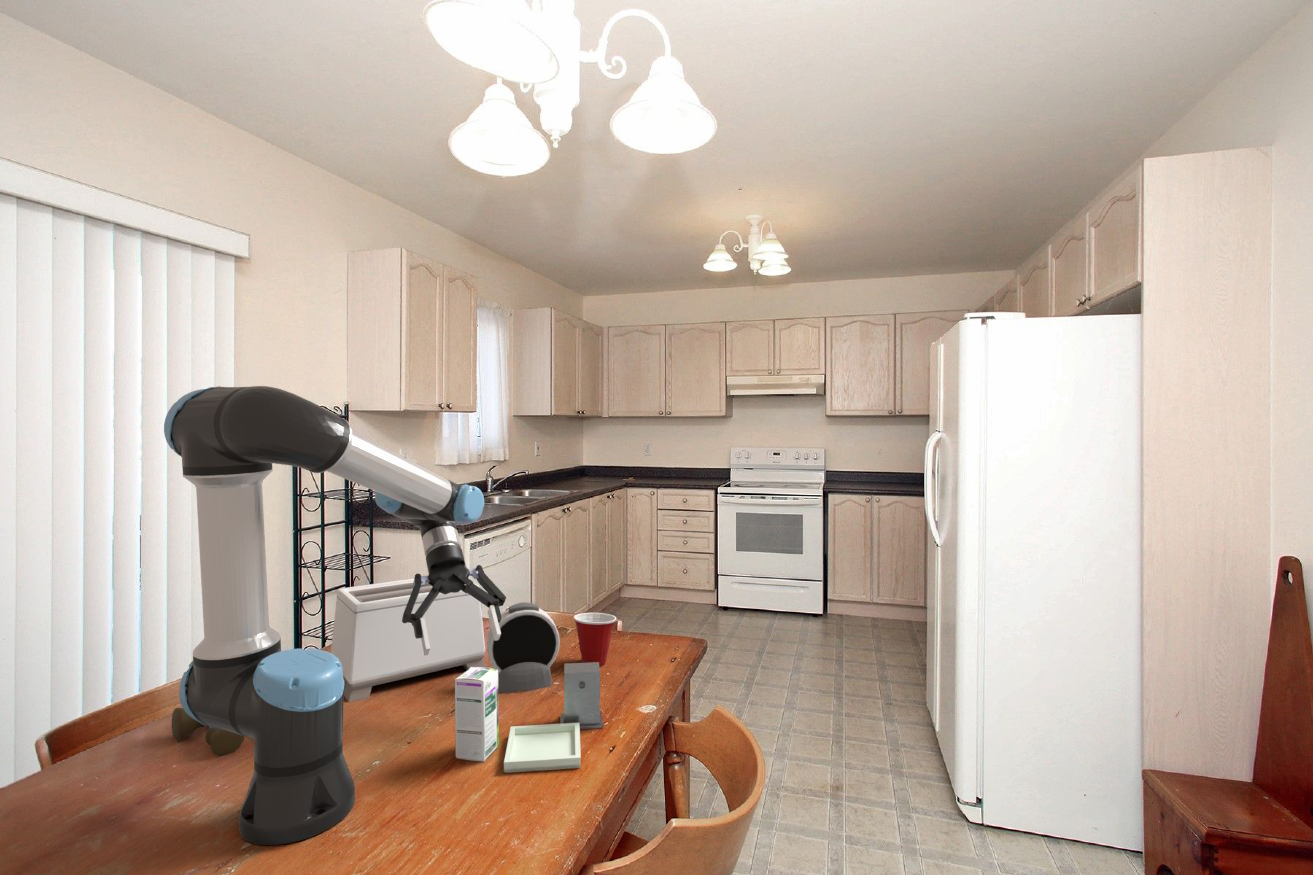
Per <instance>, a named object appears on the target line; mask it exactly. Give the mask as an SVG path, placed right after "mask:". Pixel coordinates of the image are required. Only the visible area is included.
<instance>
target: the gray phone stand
mask: <svg viewBox="0 0 1313 875" xmlns="http://www.w3.org/2000/svg"><path fill="white" fill-rule="evenodd" d="M563 664H564V667H563V669H564V670H563V673H564V674H563V676H564V677H563V680H564V681H563V713H560V717H559V718H560V720H559V724H564V723H579V725H580V730H589V729H590V730H591V729H593V730H595V729H604V719H603V712H602V711H601V702H600V701H601V696H600V695H601V669H600V668H601V667H599V662H592V663H583V662H574V663H573V662H572V663H568V662H567V663H563Z"/></svg>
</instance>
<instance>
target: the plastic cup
mask: <svg viewBox="0 0 1313 875" xmlns="http://www.w3.org/2000/svg"><path fill="white" fill-rule="evenodd" d="M573 620H574V622H575V626H576V630H577V631H576V632H577V637H578V643H579V646H578V647H579V651H580V656H581V663H592V662H599V667H600V668H601V667H603V666H605V665H606V662H607V657H608V652H609V649H610V648H609V647H610V643H611V635H612V631H613V628H614V624H615V623H616V621H617V617H616V616H615V615H613V614H609V613H604V612H584V613H578V614H575V615H574V616H573Z"/></svg>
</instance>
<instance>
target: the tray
mask: <svg viewBox="0 0 1313 875" xmlns="http://www.w3.org/2000/svg"><path fill="white" fill-rule="evenodd" d="M581 753H582V752H581V729H580V725H579V723H564V724H560V723H550V724H548V723H547V724H546V723H545V724H534V725H533V724H531V725H515V726H514V725H513V726H512V725H511V726H510V729H509V735H508V739H507V744H506V750H505V756H504V760H503V774H507V773H508V774H510V773H523V772H525V773H526V772H537V771H541V772H542V771H553V770H554V771H555V770H570V769H581V768H582V766H581V764H582V763H581V762H582V757H581V755H582V754H581Z"/></svg>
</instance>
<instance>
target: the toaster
mask: <svg viewBox="0 0 1313 875" xmlns="http://www.w3.org/2000/svg"><path fill="white" fill-rule="evenodd" d="M413 582H414V578H409V579H401V580H394V581H387V582H386V581H385V582H378V583H371V584H364V585H356V586H350V587H342V588H338V589H337V592H336V602H335V603H336V604H335V611H334V619H333V620H334V621H333V629H332V636H331V638H332V639H331V647H330V653H331V654H333V655H335V656H336V657H337V658H338V659H339V660H340V662H341V664H342V671H343V679H344V684H345V685H344V696H345V697H344V699H345V700H346V699H347V700H346V701H347V702H348V703H352V702H355V701H360V700H364V699H368V698H370V696H371V692H372V688H373V687H374V686H379V685H382V684H383V685H384V684H386V683H387V684H388V683H391V682H396V681H400V680H404V679H405V680H406V679H409V678H413V677H417V676H421V675H425V674H429V673H430V674H431V673H434V672H439V671H442V670H446V669H450V668H456V667H459V666H462V668H464V669H465V670H466V671H468V670H469V668H471V667H486V668H487V666H486V664H485V662H484V660H483V659H484V658H485V655H486V654H485V653H486V643H485V635H484V634H485V632H484V622H483V603H481V602H480V601H478V600H477V599H475V598H474V597H472V596H471V595H470V594H468V593H465V592H463V591H462V590H460V591H459V592H456V593H452V592H451V593H449V594H443V593H439V594H438V596H437V597H436V598H435V599H434V601H433V602H432V604H431V605H430V607H429V608H428V609H427V611H426V612H425V614H424V615H423V617H422V618H424V617H425V622H426V628H427V633H428V639H429V644H430V651H429V654H428V655H425V656H424V651H423V646H422V640H421V638H418V639H416V637H415V633H414V627H413V626H412V623H408V622H407V623H403V622H402V618H403V613H404V611H405V608H406V606H407V603H408V601H409V598H410V595H411V593H412V590H413V588H414V584H413ZM473 583H474V582H473ZM474 584H475V585H477V586H478V587H479V588H481V587H480V584H477V583H474ZM465 585H466V584H465ZM431 589H432V586H431V585H430V584H429V583H428V582H426V583H425V584H424V586H423V587H420V591H419V594H418V597H417V600H416V602H415V605H414V607H413V610H412V613H411V614H415V612H416V611H417V609H418V608H419V607H420V605H421V604H422V602H423V601H424V599H425V598H426V597H427V595H428V594H429V592H430V591H431ZM359 699H360V700H359ZM351 701H352V702H351Z"/></svg>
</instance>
